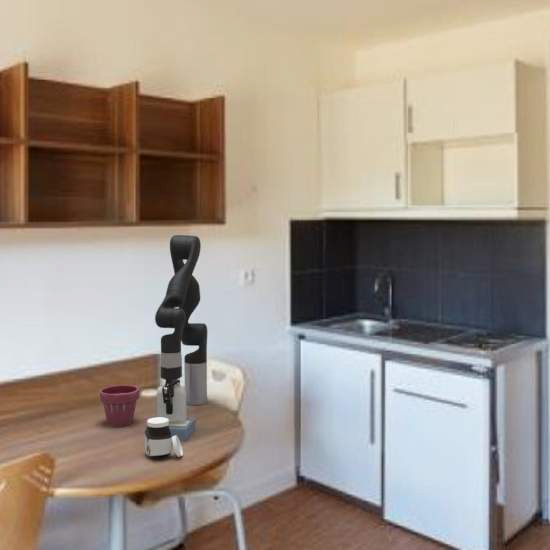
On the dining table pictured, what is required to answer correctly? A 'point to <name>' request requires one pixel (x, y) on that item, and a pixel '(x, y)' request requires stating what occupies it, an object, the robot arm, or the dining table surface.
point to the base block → (182, 428)
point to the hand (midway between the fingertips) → (171, 411)
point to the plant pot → (119, 403)
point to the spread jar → (160, 439)
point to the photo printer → (178, 404)
